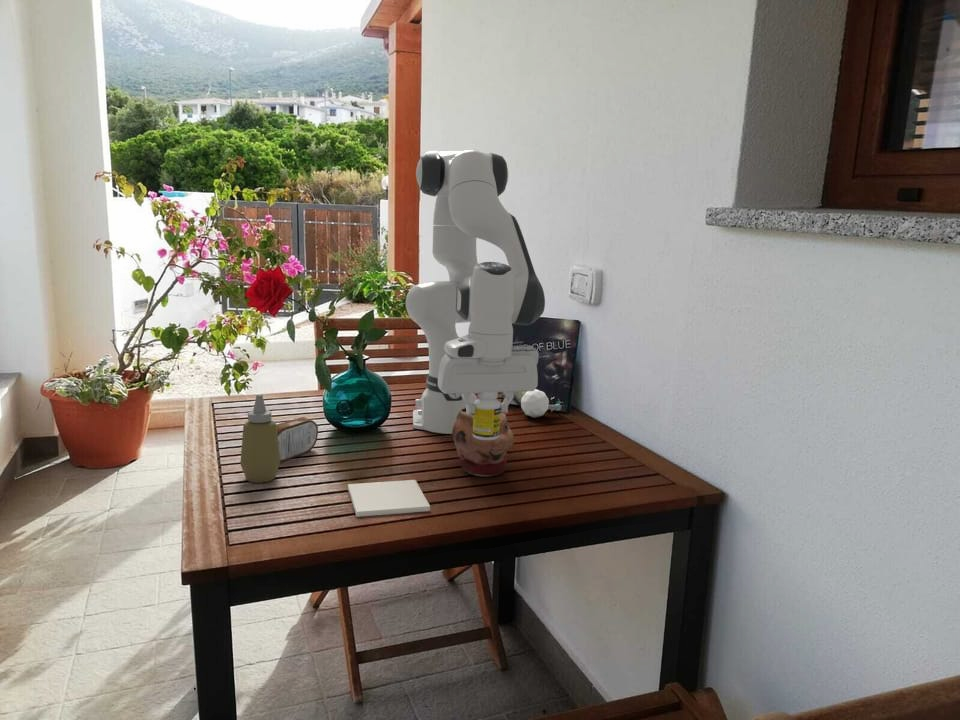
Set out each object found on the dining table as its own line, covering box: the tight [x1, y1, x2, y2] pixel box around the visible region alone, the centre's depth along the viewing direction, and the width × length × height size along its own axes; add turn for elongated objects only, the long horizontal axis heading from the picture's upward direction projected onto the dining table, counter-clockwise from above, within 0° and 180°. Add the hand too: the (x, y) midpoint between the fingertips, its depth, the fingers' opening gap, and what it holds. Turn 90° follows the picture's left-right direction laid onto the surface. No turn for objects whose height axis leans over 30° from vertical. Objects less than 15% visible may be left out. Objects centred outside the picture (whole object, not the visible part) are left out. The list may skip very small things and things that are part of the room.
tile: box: [347, 479, 431, 518], centre depth 142 cm, size 14×14×1 cm
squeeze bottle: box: [239, 394, 281, 484], centre depth 148 cm, size 8×8×18 cm
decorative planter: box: [451, 408, 515, 477], centre depth 160 cm, size 20×12×14 cm, turn 37°
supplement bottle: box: [473, 392, 501, 440], centre depth 144 cm, size 5×5×10 cm
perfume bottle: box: [520, 388, 562, 419], centre depth 206 cm, size 8×8×12 cm
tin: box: [276, 416, 319, 462], centre depth 163 cm, size 15×3×8 cm, turn 150°
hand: (486, 413), depth 145 cm, fingers closed on supplement bottle, 5 cm apart
